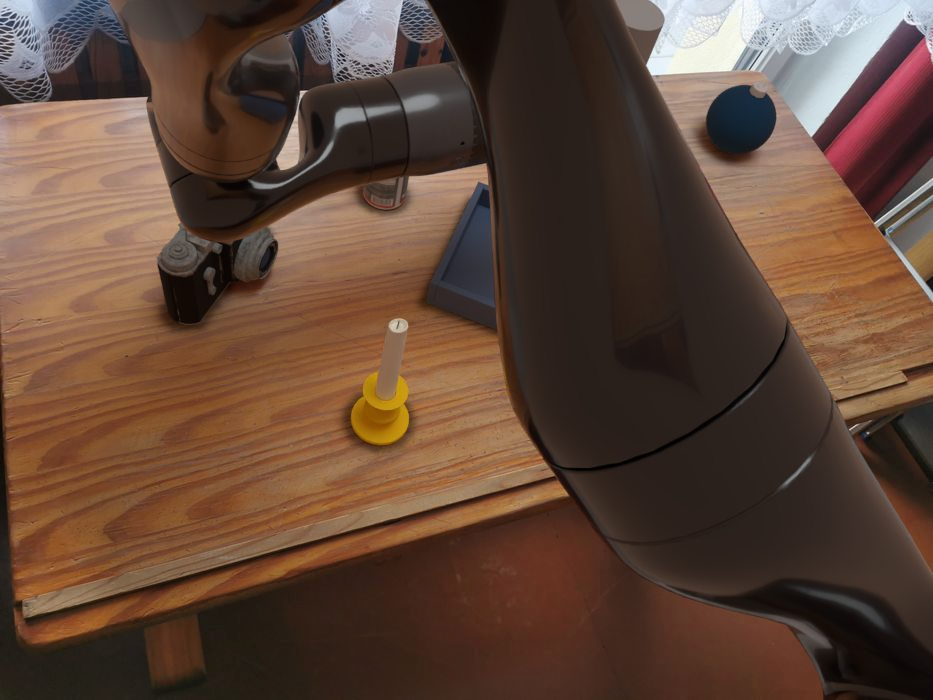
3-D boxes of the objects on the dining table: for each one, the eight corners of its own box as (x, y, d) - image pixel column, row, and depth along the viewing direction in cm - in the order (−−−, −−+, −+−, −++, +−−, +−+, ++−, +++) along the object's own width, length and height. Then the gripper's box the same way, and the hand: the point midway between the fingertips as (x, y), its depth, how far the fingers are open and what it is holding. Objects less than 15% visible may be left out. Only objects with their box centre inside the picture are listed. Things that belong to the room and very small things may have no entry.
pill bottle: (388, 173, 87) (396, 114, 80) (414, 200, 86) (424, 143, 79) (353, 189, 85) (359, 129, 78) (379, 217, 83) (387, 159, 76)
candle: (338, 419, 69) (349, 319, 57) (378, 384, 72) (397, 281, 59) (381, 457, 68) (402, 363, 55) (420, 420, 71) (448, 322, 58)
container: (588, 144, 71) (653, -7, 58) (605, 182, 68) (676, 32, 56) (540, 145, 69) (596, -10, 57) (556, 183, 67) (618, 30, 55)
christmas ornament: (742, 124, 105) (781, 61, 96) (765, 169, 100) (807, 107, 92) (686, 121, 103) (721, 57, 94) (706, 167, 98) (744, 103, 90)
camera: (225, 343, 71) (217, 276, 63) (159, 315, 72) (142, 244, 63) (299, 237, 80) (301, 165, 72) (240, 212, 80) (234, 138, 72)
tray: (619, 258, 87) (630, 238, 84) (588, 366, 78) (599, 348, 75) (472, 202, 87) (478, 181, 84) (425, 302, 78) (430, 282, 76)
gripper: (502, 145, 51) (700, 106, 57) (411, 12, 57) (601, -10, 63) (478, 224, 57) (660, 179, 63) (399, 95, 63) (572, 67, 69)
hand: (629, 85), depth 63 cm, fingers closed on container, 4 cm apart
